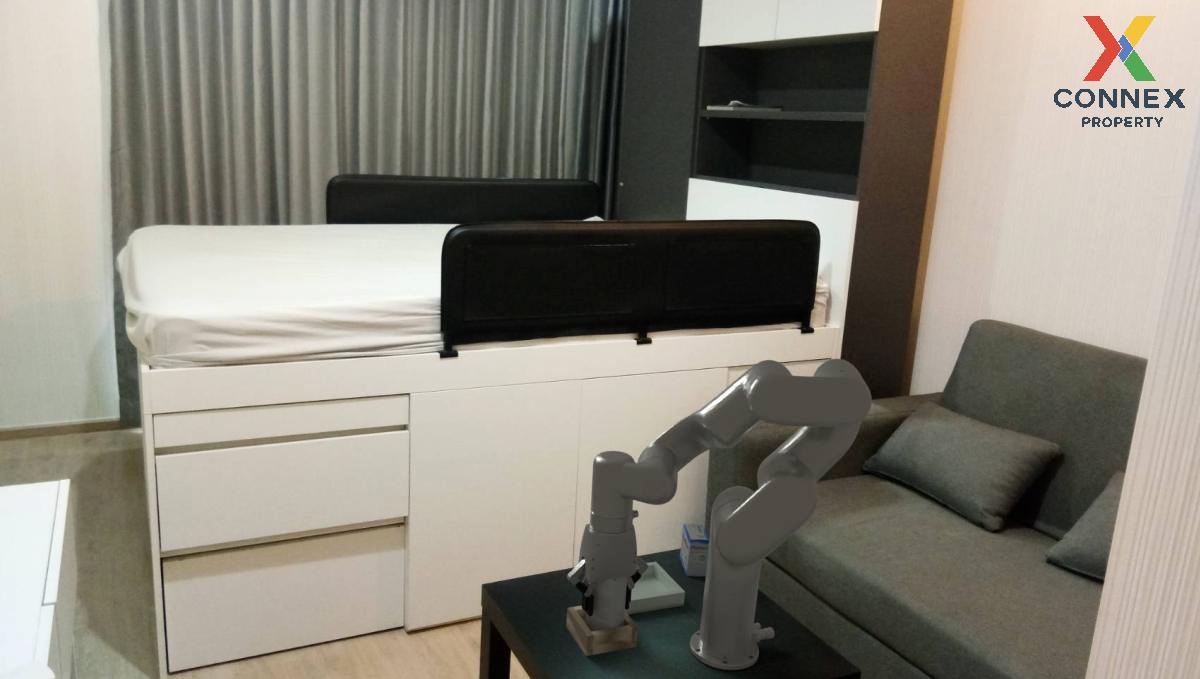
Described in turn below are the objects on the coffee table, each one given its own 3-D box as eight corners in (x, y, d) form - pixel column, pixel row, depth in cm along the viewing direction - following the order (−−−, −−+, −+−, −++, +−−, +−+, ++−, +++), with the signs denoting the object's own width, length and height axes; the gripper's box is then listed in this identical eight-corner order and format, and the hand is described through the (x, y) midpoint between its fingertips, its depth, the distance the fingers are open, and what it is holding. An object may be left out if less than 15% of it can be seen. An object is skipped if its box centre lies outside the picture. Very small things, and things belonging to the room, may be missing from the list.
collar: (614, 618, 176) (615, 599, 176) (636, 646, 168) (638, 627, 167) (566, 626, 173) (567, 607, 172) (586, 656, 164) (587, 636, 163)
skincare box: (624, 632, 170) (628, 574, 167) (611, 642, 167) (615, 583, 163) (597, 620, 173) (601, 563, 170) (584, 630, 170) (588, 572, 167)
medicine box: (679, 559, 202) (682, 523, 200) (698, 559, 203) (702, 523, 201) (686, 576, 195) (690, 539, 193) (706, 577, 195) (710, 539, 193)
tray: (654, 574, 195) (655, 561, 194) (683, 605, 183) (685, 591, 182) (598, 583, 189) (599, 569, 189) (624, 615, 178) (626, 601, 177)
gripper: (645, 505, 171) (639, 591, 175) (558, 517, 164) (554, 606, 169) (663, 522, 164) (657, 611, 169) (573, 535, 158) (569, 627, 162)
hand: (606, 608), depth 169 cm, fingers closed on skincare box, 6 cm apart
